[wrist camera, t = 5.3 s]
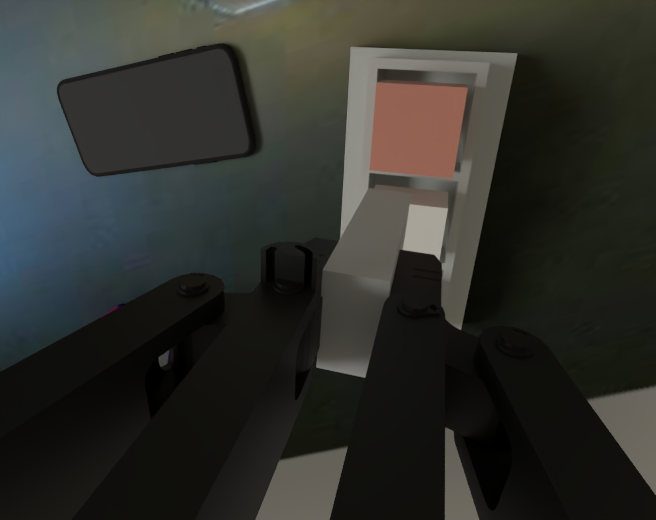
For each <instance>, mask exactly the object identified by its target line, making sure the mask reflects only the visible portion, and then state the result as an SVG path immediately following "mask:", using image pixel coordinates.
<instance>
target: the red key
mask: <svg viewBox="0 0 656 520" xmlns="http://www.w3.org/2000/svg"><path fill="white" fill-rule="evenodd" d="M467 90H468V87H467V85H466V84H454V83H435V82H417V81H398V80H383V81H380V82H377V83H376V95H375V107H374V120H373V132H372V145H371V157H370V170H373V171H383V172H393V173H404V174H414V175H424V176H434V177H445V178H453V175H454V169H455V163H456V157H457V151H458V145H459V139H460V133H461V127H462V121H463V114H464V108H465V102H466V96H467Z"/></svg>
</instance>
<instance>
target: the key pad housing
mask: <svg viewBox="0 0 656 520" xmlns="http://www.w3.org/2000/svg"><path fill="white" fill-rule="evenodd" d="M517 54H518V53H496V52H470V51H444V50H418V49H392V48H366V47H351V54H350V72H349V90H348V109H347V127H346V145H345V163H344V182H343V200H342V218H341V236H342V235H343V233H344V231H345V229H346V228H347V226H348V224H349V222H350V220H351V219H352V217H353V215H354V213H355V212H356V210H357V208H358V206H359V204H360V203H361V201H362V199H363V197H364V196H365V194H366V192H367V190H368V188H372V189H374V187H375V185H376V184H377V185H386V186H396V187H405V188H415V189H425V190H434V191H444V192H448V211H447V217H446V223H445V229H444V235H443V241H442V248H441V254H440V260H439V261H440V262H441V263H442V281H441V282H442V289H441V306H442V307H443V309H444V312H445V319H446V320H447V321H448V322H449V323H450V324H451V325H453V326H455V327H456V328H458V329H459V330H461V327H462V322H463V317H464V312H465V307H466V303H467V298H468V293H469V288H470V283H471V278H472V273H473V268H474V263H475V259H476V254H477V249H478V244H479V239H480V234H481V229H482V224H483V220H484V215H485V210H486V205H487V200H488V195H489V190H490V185H491V180H492V176H493V171H494V166H495V161H496V156H497V151H498V146H499V141H500V137H501V132H502V127H503V122H504V117H505V112H506V107H507V102H508V97H509V93H510V88H511V83H512V78H513V73H514V68H515V63H516V58H517ZM383 80H398V81H417V82H435V83H454V84H466V85H467V87H468V90H467V96H466V102H465V108H464V114H463V121H462V127H461V133H460V139H459V145H458V151H457V157H456V163H455V169H454V175H453V178H445V177H434V176H424V175H414V174H404V173H393V172H383V171H373V170H370V157H371V145H372V132H373V120H374V107H375V95H376V83H377V82H380V81H383ZM341 236H340V238H341Z"/></svg>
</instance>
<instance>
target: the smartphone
mask: <svg viewBox="0 0 656 520" xmlns="http://www.w3.org/2000/svg"><path fill="white" fill-rule="evenodd" d="M57 95H58V99H59V102H60V104H61V107H62V109H63V112H64V115H65V117H66V120H67V123H68V125H69V128H70V130H71V133H72V136H73V138H74V141H75V144H76V146H77V149H78V151H79V154H80V157H81V159H82V162H83V164H84V166H85V168H86V169H87V171H88V172H89V173H90V174H92V175H94V176H107V175H115V174H122V173H130V172H137V171H144V170H152V169H159V168H167V167H174V166H182V165H189V164H194V165H196V164H203V163H210V162H216V161H219V160H226V159H233V158H241V157H246V156H249V155H250V154H252V153H253V151H254V149H255V135H254V130H253V126H252V121H251V117H250V113H249V108H248V104H247V99H246V95H245V90H244V86H243V81H242V77H241V72H240V67H239V63H238V59H237V57H236V55H235V53H234V51H233V50H232V49H231V47H229V46H228V45H225V44H215V45H210V46H201V47H197V49H188V50H184V51H180V52H176V54H175V53H171V54H167V55H163V56H159V58H154V59H150V60H146V61H142V62H137V63H133V64H129V65H124V66H120V67H116V68H112V69H107V70H103V71H99V72H95V73H90V74H86V75H82V76H78V77H73V78H69V79H65V80H62V81H61V82H60V83H59V84H58V86H57Z"/></svg>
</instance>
